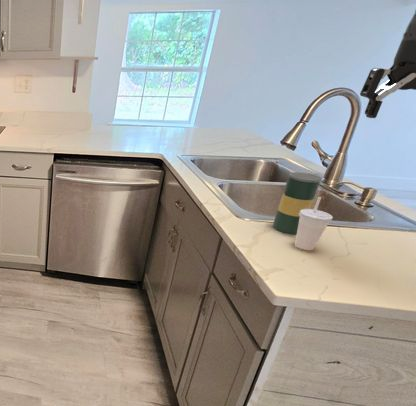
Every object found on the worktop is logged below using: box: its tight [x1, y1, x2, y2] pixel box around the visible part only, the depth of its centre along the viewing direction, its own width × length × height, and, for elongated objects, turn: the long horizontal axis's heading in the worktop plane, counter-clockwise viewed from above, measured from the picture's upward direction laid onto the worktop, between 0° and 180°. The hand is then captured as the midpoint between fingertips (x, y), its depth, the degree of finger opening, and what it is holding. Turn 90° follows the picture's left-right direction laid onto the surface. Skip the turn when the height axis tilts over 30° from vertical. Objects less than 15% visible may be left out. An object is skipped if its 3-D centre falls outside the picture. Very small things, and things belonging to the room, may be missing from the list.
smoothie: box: [294, 196, 334, 251], centre depth 93 cm, size 6×6×14 cm
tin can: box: [272, 171, 322, 235], centre depth 102 cm, size 7×7×16 cm
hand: (395, 118), depth 80 cm, fingers open, 8 cm apart
